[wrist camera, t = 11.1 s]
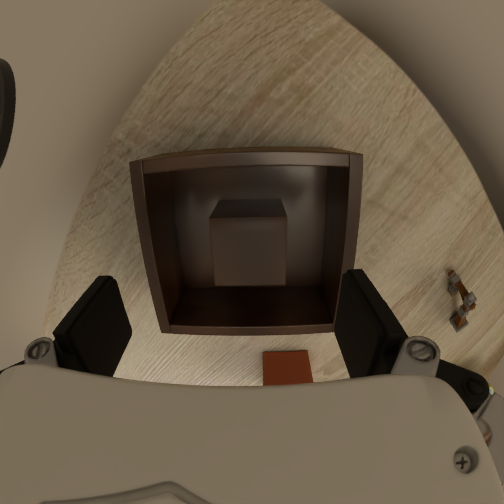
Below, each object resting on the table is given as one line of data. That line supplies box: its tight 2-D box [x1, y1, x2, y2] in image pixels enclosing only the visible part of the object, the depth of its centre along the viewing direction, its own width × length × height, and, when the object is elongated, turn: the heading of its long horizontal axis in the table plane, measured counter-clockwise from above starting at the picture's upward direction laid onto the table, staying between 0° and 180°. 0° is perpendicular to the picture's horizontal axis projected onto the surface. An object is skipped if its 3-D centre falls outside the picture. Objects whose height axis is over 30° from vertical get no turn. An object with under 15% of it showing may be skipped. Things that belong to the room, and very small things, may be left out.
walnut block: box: [209, 199, 287, 286], centre depth 18 cm, size 4×4×4 cm
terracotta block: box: [263, 351, 313, 386], centre depth 25 cm, size 4×4×4 cm
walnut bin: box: [129, 147, 363, 336], centre depth 18 cm, size 13×12×6 cm
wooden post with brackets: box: [448, 269, 477, 332], centre depth 22 cm, size 2×8×4 cm, turn 34°
